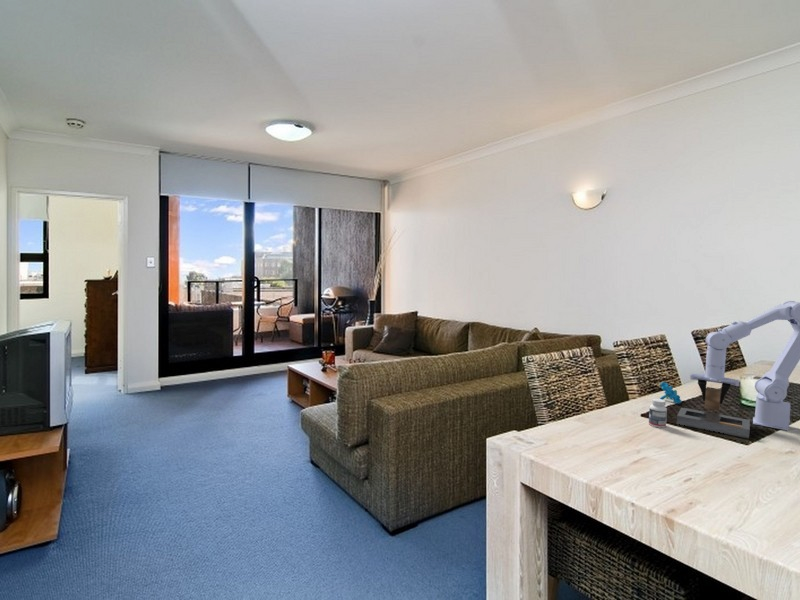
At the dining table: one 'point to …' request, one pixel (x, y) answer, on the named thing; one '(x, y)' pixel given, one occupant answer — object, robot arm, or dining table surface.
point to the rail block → (714, 422)
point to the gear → (670, 393)
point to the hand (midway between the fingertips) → (712, 401)
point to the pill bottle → (658, 413)
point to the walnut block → (712, 398)
